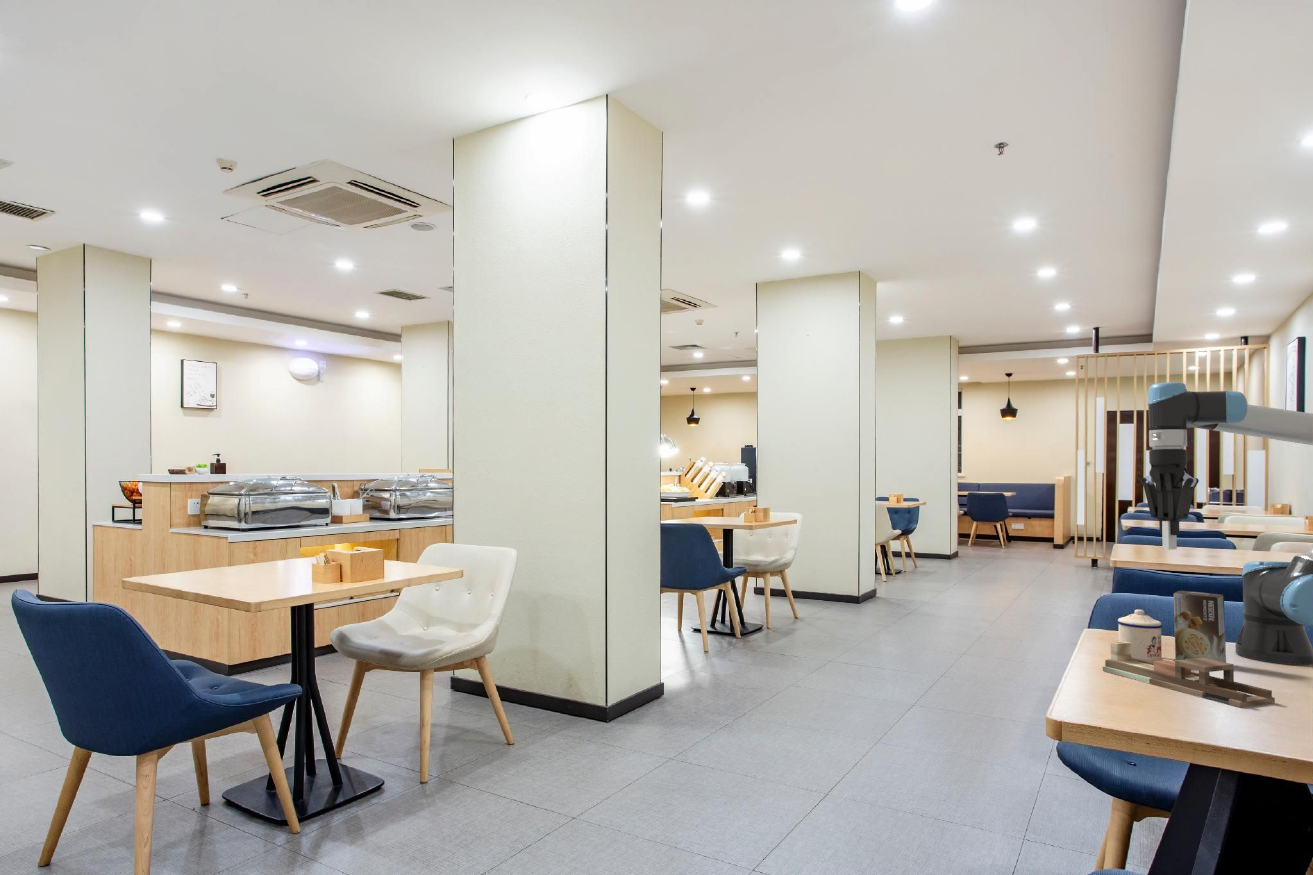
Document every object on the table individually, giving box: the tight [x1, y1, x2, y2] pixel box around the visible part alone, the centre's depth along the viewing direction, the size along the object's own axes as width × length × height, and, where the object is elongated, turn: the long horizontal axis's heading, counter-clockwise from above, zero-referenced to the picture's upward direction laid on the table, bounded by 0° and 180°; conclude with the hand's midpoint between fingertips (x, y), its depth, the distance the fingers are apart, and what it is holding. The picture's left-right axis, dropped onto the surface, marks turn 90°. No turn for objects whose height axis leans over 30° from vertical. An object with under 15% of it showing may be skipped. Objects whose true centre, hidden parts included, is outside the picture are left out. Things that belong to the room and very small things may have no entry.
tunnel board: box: [1102, 657, 1276, 708], centre depth 163 cm, size 10×29×6 cm, turn 21°
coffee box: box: [1173, 590, 1227, 663], centre depth 185 cm, size 9×6×16 cm
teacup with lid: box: [1117, 609, 1163, 662], centre depth 188 cm, size 12×9×12 cm
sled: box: [1110, 641, 1199, 682], centre depth 169 cm, size 4×19×5 cm, turn 21°
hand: (1169, 548), depth 185 cm, fingers closed
